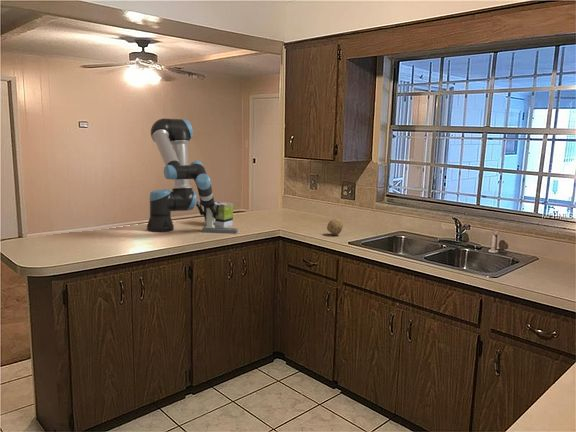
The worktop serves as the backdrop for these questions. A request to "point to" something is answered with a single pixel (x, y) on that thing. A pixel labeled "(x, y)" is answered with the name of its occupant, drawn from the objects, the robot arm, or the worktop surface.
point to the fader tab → (209, 219)
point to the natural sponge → (335, 226)
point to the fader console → (220, 230)
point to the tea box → (223, 215)
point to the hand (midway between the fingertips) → (211, 220)
